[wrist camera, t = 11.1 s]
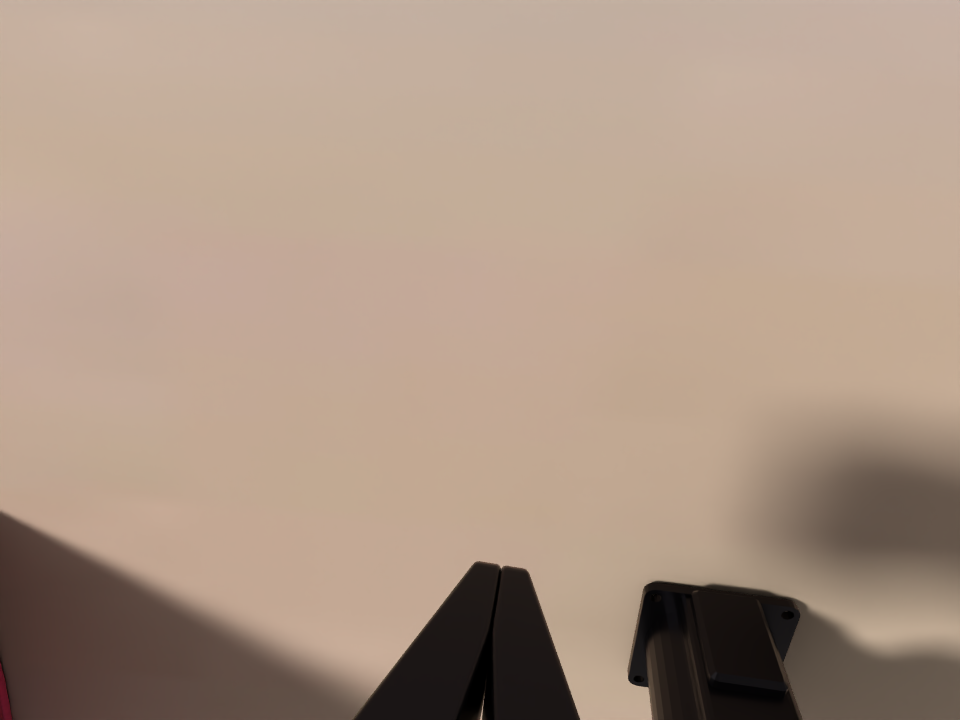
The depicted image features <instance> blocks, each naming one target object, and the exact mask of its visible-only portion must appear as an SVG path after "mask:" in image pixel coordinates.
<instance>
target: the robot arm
mask: <svg viewBox="0 0 960 720" xmlns="http://www.w3.org/2000/svg"><path fill="white" fill-rule="evenodd" d="M653 594H658V595H653ZM785 611H787V612H785ZM799 618H800V612H799V609H798V607H797V605H796V603H795V602H793V601H791V600H787V599H779V598H772V597H764V596H756V595H748V594H740V593H732V592H724V591H717V590H709V589H701V588H693V587H685V586H677V585H669V584H662V583H650V584H647V585H646V586H645V587H644V589H643V593H642V599H641V604H640V609H639V614H638V619H637V624H636V629H635V635H634V640H633V645H632V650H631V655H630V660H629V665H628V680H629V681H630V683H632V684H633V685H637V686H643V687H649V694H650V703H651V712H652V720H802V717H801V714H800V711H799V708H798V705H797V702H796V699H795V697H794V694H793V691H792V688H791V685H790V682H789V679H788V676H787V674H786V671H785V668H784V665H783V661H784V658H785V656H786V653H787V650H788V648H789V645H790V642H791V640H792V637H793V634H794V632H795V629H796V626H797V624H798V621H799ZM484 694H485V695H484ZM483 700H484V704H483ZM482 706H483V714H482V720H580V718H579V715H578V712H577V709H576V706H575V703H574V701H573V698H572V695H571V692H570V689H569V686H568V683H567V681H566V678H565V675H564V672H563V669H562V666H561V663H560V660H559V658H558V655H557V652H556V649H555V646H554V643H553V640H552V637H551V635H550V632H549V629H548V626H547V623H546V620H545V617H544V615H543V612H542V609H541V606H540V603H539V600H538V597H537V594H536V592H535V589H534V586H533V583H532V580H531V577H530V574H529V573H528V571H527V570H526V569H523V568H517V567H511V566H504V567H502V569H501V568H500V566H499V565H498V564H493V563H487V562H480V561H477V562H475V563H474V564H473V565H472V566H471V568H470V569H469V570H468V571H467V573H466V574H465V575H464V577H463V578H462V579H461V580H460V582H459V583H458V584H457V586H456V587H455V588H454V589H453V591H452V592H451V593H450V595H449V596H448V597H447V599H446V600H445V601H444V602H443V604H442V605H441V606H440V608H439V609H438V610H437V611H436V613H435V614H434V615H433V617H432V618H431V619H430V620H429V622H428V623H427V624H426V626H425V627H424V628H423V629H422V631H421V632H420V633H419V635H418V636H417V637H416V639H415V640H414V641H413V642H412V644H411V645H410V646H409V648H408V649H407V650H406V651H405V653H404V654H403V655H402V657H401V658H400V659H399V660H398V662H397V663H396V664H395V666H394V667H393V668H392V669H391V671H390V672H389V673H388V675H387V676H386V677H385V679H384V680H383V681H382V682H381V684H380V685H379V686H378V688H377V689H376V690H375V691H374V693H373V694H372V695H371V697H370V698H369V699H368V700H367V702H366V703H365V704H364V706H363V707H362V708H361V709H360V711H359V712H358V713H357V715H356V716H355V717H354V719H353V720H480V717H481V712H482Z"/></svg>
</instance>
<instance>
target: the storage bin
mask: <svg viewBox="0 0 960 720" xmlns="http://www.w3.org/2000/svg"><path fill="white" fill-rule="evenodd" d="M0 720H12V716H11V710H10V703H9V699H8V694H7V690H6V683H5V678H4V674H3V671H2V667H1V663H0Z"/></svg>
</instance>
